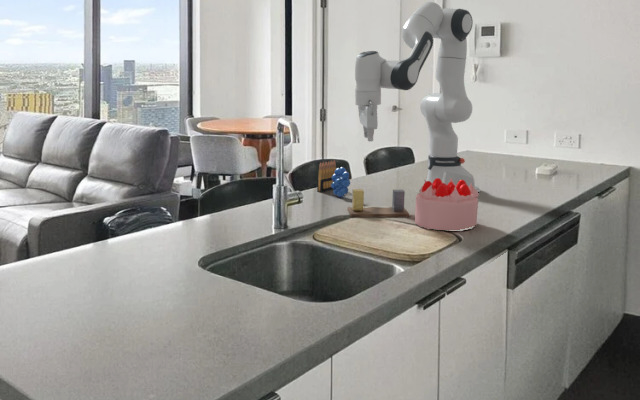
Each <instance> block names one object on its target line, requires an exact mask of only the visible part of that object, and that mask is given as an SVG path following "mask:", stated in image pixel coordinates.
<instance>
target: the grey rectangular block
mask: <svg viewBox="0 0 640 400" xmlns="http://www.w3.org/2000/svg"><path fill="white" fill-rule="evenodd" d="M405 194H406V193H405V190H404V189H392V201H391V202H392V203H391V205H392V206H391V207H392V210H393V211H394V212H404V208H405Z"/></svg>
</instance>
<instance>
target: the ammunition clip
mask: <svg viewBox="0 0 640 400" xmlns="http://www.w3.org/2000/svg"><path fill="white" fill-rule="evenodd" d="M336 169H337V164H336V159H334V160H328V162H327V161H322V162H321V161H320V162H319V166H318V178H317V185H316V186H317V188H316V190H317V191H316V192H318V193H324V192H328V191H332V190H333V191H334V189H333V188H332V187H331V184H332V183H333V182H334V181H333V180H332V176H333V175H334V174H335V173H334V172H335V170H336Z"/></svg>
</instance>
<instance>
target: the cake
mask: <svg viewBox="0 0 640 400" xmlns="http://www.w3.org/2000/svg"><path fill="white" fill-rule="evenodd" d="M426 180H427V179H424V183H423V185H422V186H421V188H420V189H419V192H418V193H417V194H416V195H415V210H414V211H415V212H414V214H415V215H414V222H415V225H416V224H417V225H416V226H418V227H420V228H422V227H424V228H423V229H425V228H429V229H436V230H448V231H449V230H460V229H465V228H469V227H472V226H475V225H476V226H477V222H478V208H479V206H478V205H479V198H478V197H479V196H480V192H479V193H478V191H477V190H476V189H475V188H474V187H473V185H472V183H471V185H470V187H468V185H467V184H466V182H465V181H464V180H460V181H459V182H458V183H457V185H455V184H454V183H453V181H452V179H450V182H449V183H448V184H447V186H446V184H445V183H442V181H441V179H439V178H436V179H435V180H434V181H433V183H431V182H430V181H426ZM429 229H428V230H429Z"/></svg>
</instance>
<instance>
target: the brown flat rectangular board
mask: <svg viewBox="0 0 640 400" xmlns="http://www.w3.org/2000/svg"><path fill="white" fill-rule="evenodd" d="M347 211H348V215H349V217H350V218H410V213H409V212H408V210H407V208H405V207H404V212H394V211H393V210H392V206H363V210H353V209H352V206H347Z"/></svg>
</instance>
